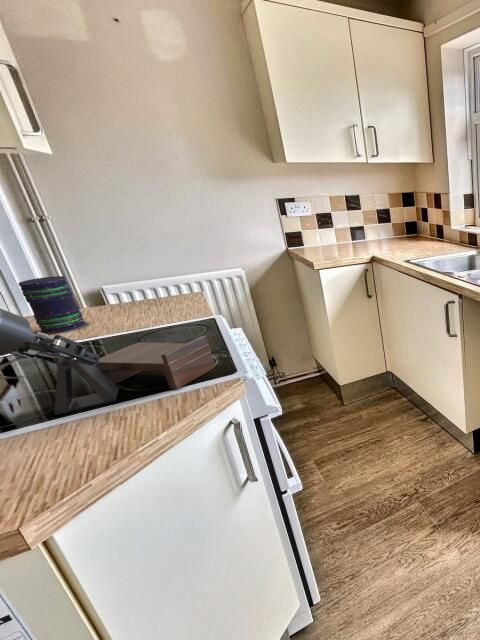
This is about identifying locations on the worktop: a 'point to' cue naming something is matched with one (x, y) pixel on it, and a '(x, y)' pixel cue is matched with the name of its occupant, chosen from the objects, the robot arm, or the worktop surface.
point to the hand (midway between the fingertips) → (80, 360)
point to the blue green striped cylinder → (52, 304)
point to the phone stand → (91, 375)
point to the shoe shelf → (160, 361)
